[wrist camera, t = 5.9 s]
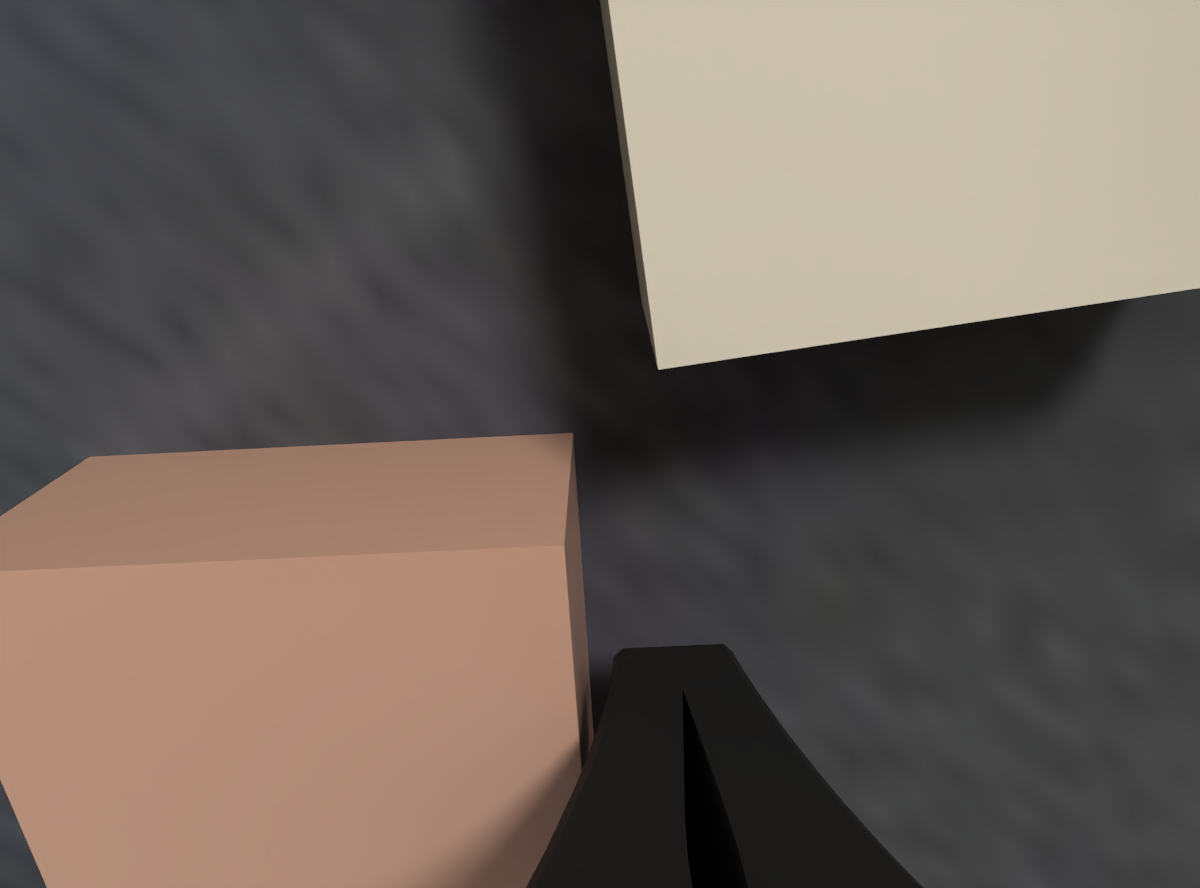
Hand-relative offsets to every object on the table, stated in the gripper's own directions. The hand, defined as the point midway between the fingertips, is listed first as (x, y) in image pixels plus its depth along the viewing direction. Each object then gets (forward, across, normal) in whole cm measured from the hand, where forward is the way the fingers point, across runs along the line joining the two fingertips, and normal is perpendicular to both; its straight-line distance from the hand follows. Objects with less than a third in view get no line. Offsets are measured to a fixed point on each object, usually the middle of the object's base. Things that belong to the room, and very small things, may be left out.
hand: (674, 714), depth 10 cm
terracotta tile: (+2, +4, 0) cm, 4 cm away
